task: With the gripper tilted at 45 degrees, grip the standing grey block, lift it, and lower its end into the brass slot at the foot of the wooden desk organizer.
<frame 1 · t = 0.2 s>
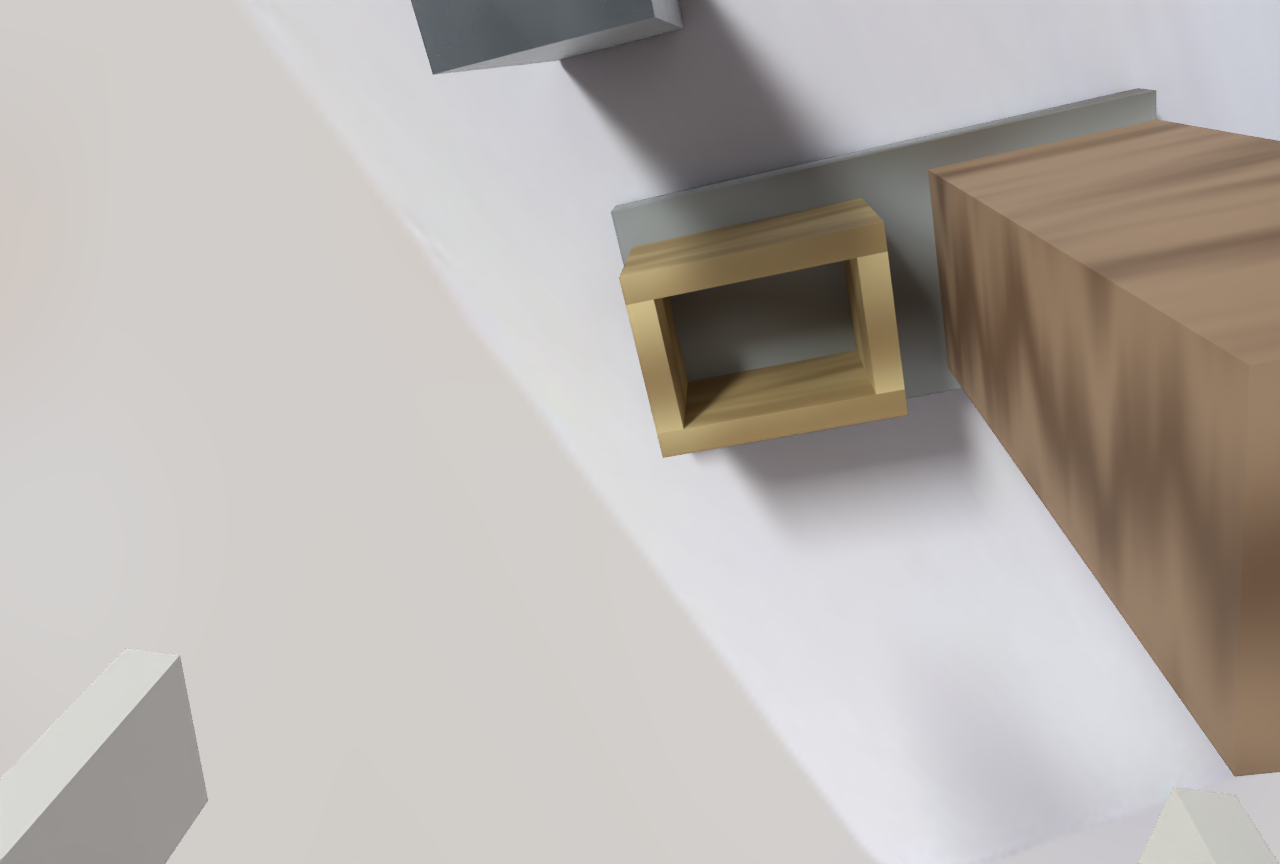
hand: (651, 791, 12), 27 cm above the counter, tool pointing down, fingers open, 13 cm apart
grey block: (609, 2, 33), on the counter
wooden desk organizer: (758, 298, 37), on the counter
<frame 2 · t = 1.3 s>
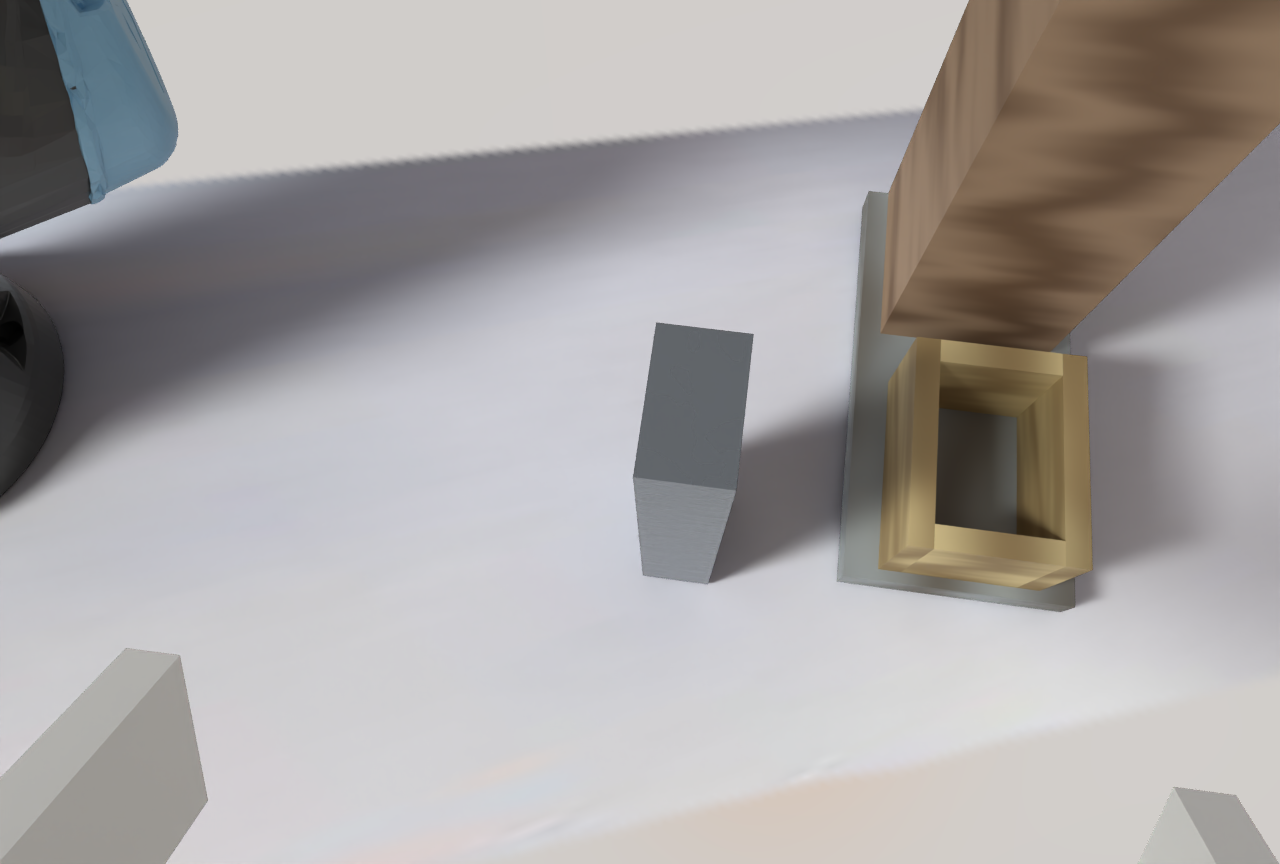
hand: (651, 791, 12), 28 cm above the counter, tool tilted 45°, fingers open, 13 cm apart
grey block: (682, 527, 41), on the counter
wooden desk organizer: (950, 490, 42), on the counter
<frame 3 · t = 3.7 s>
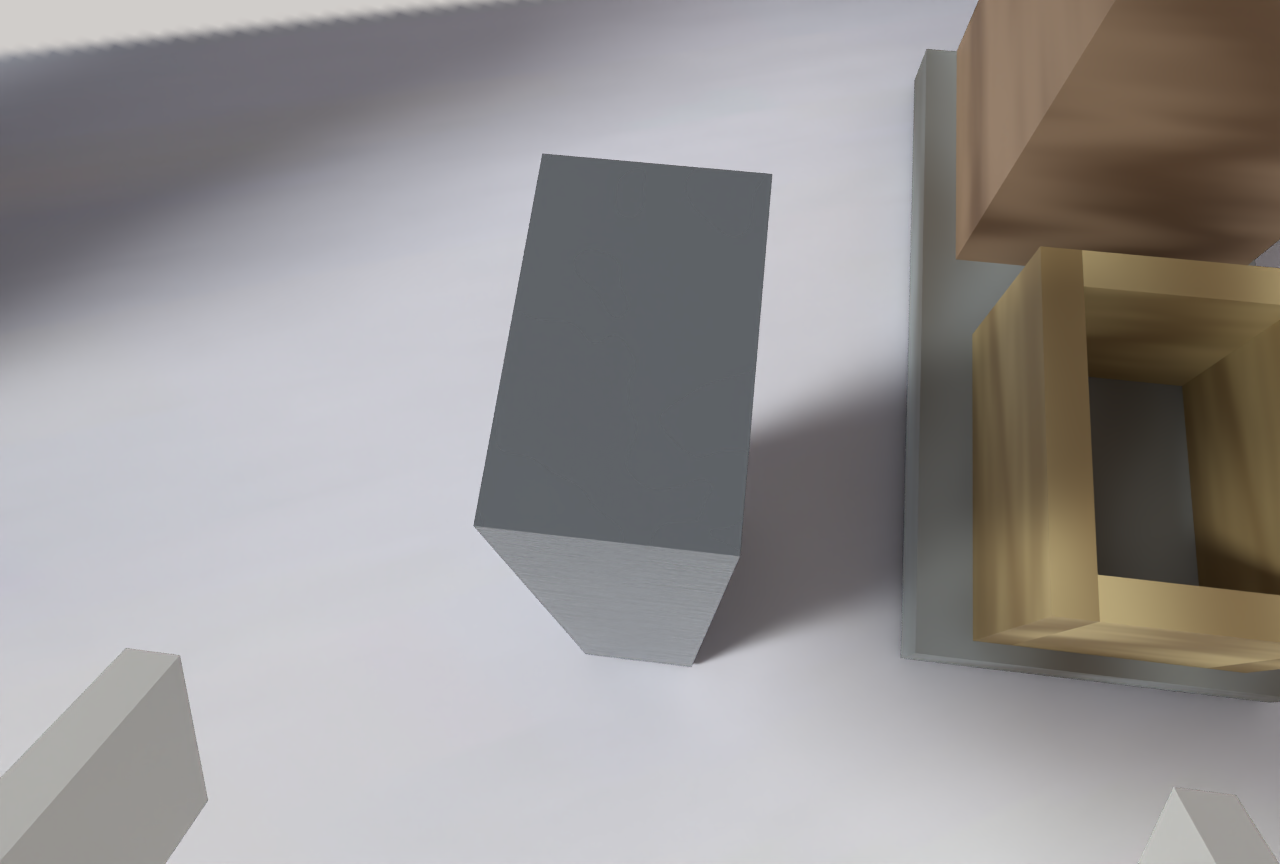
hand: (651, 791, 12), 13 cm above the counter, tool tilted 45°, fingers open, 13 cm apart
grey block: (648, 572, 26), on the counter
wooden desk organizer: (1075, 505, 26), on the counter
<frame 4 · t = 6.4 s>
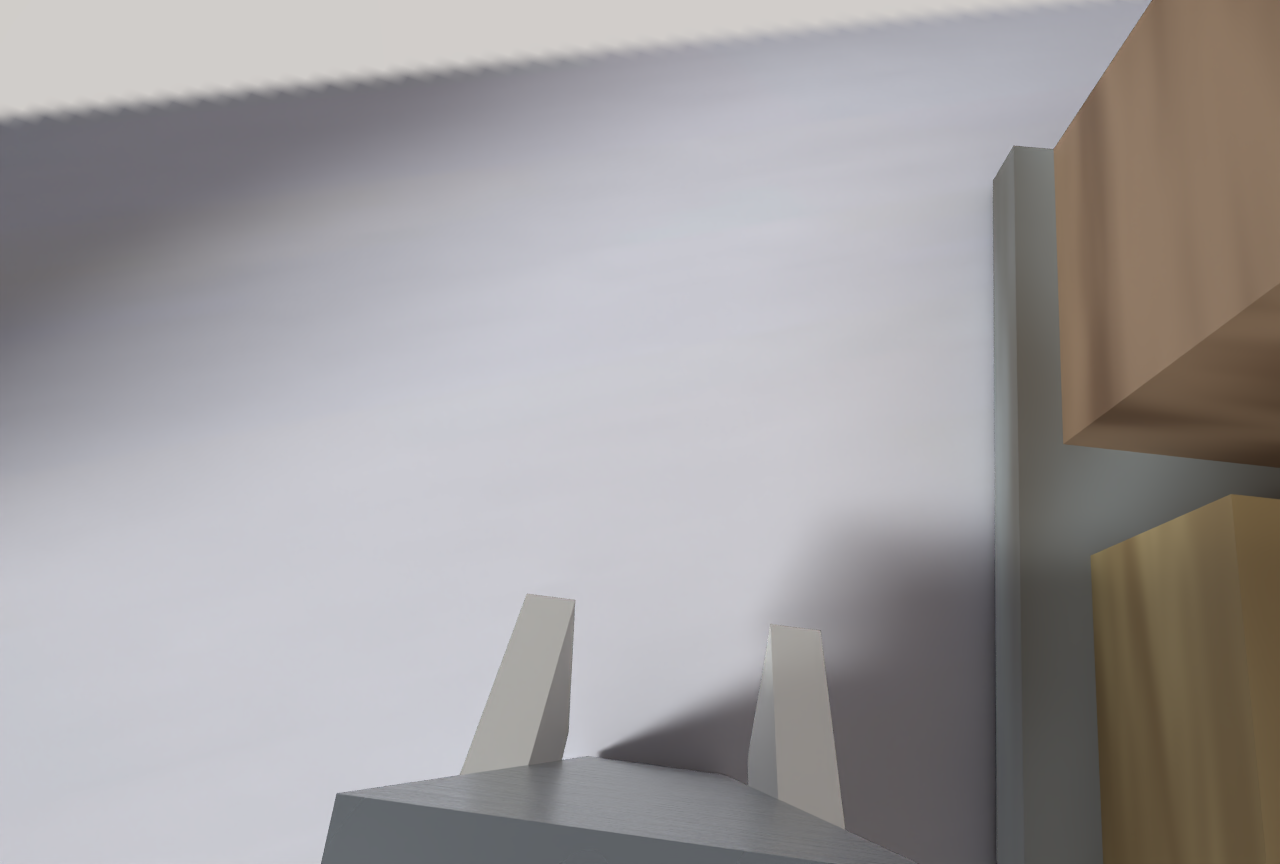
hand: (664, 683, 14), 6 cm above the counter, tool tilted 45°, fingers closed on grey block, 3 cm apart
wooden desk organizer: (1234, 797, 19), on the counter
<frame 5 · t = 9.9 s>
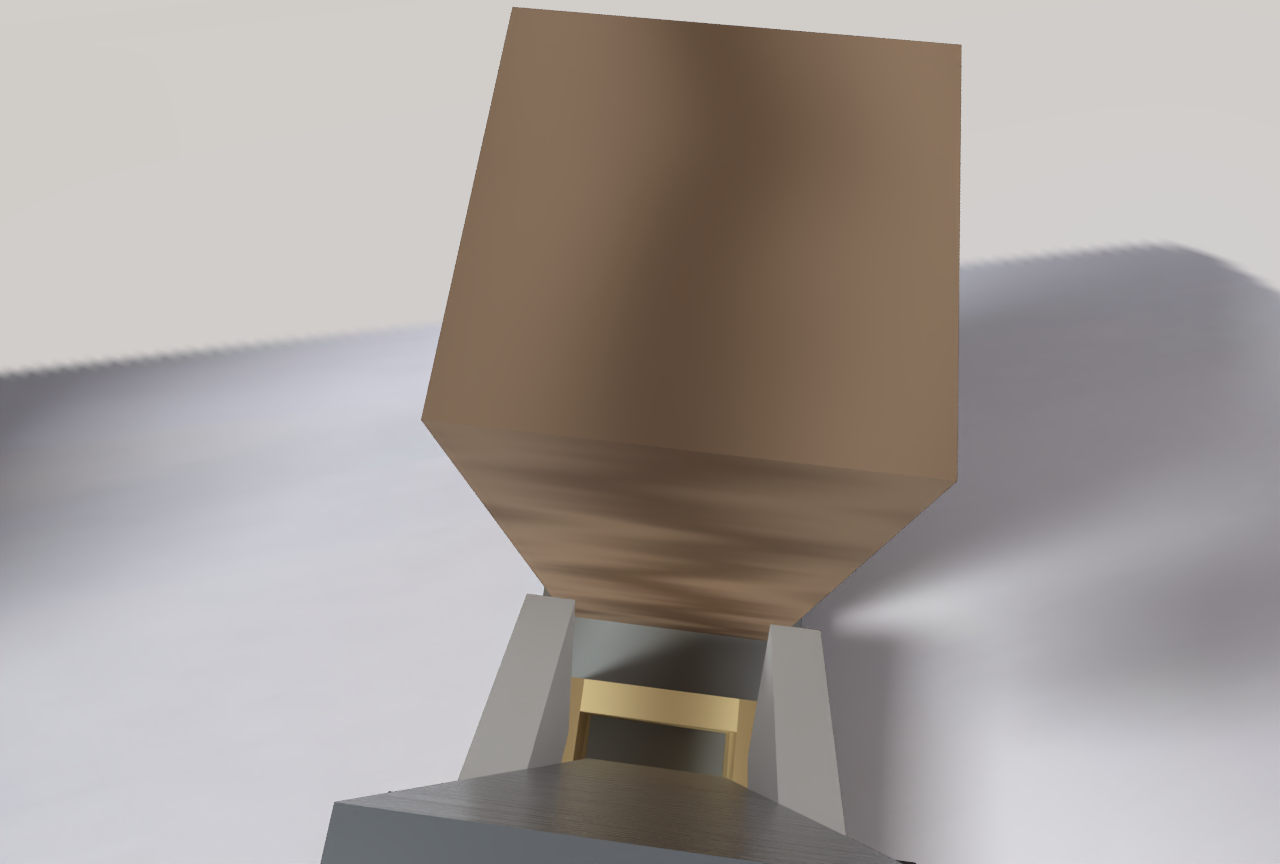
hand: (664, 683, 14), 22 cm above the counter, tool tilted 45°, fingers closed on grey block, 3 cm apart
wooden desk organizer: (646, 823, 33), on the counter
when the fingers open (9 cm above the counter, at t = 13.5 s): grey block drops 1 cm, resting on wooden desk organizer.
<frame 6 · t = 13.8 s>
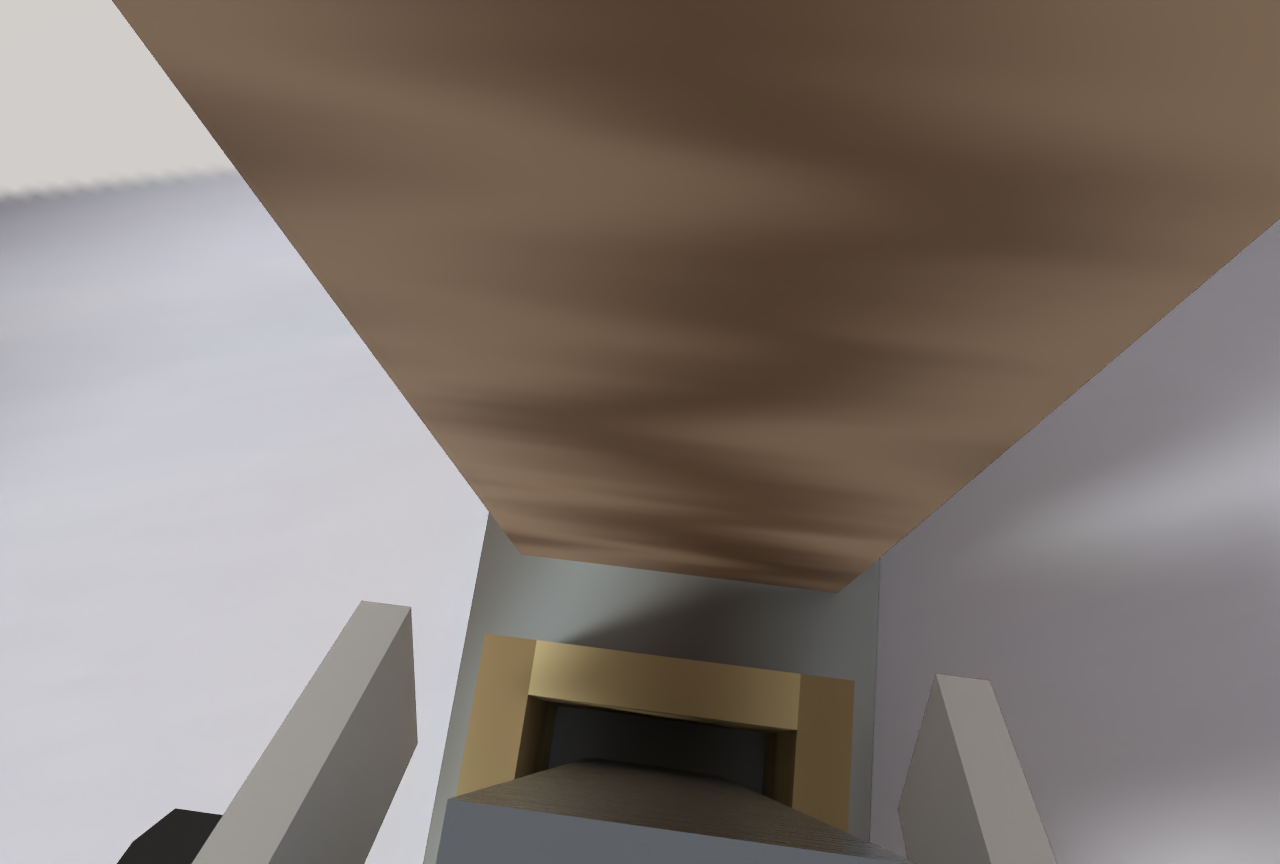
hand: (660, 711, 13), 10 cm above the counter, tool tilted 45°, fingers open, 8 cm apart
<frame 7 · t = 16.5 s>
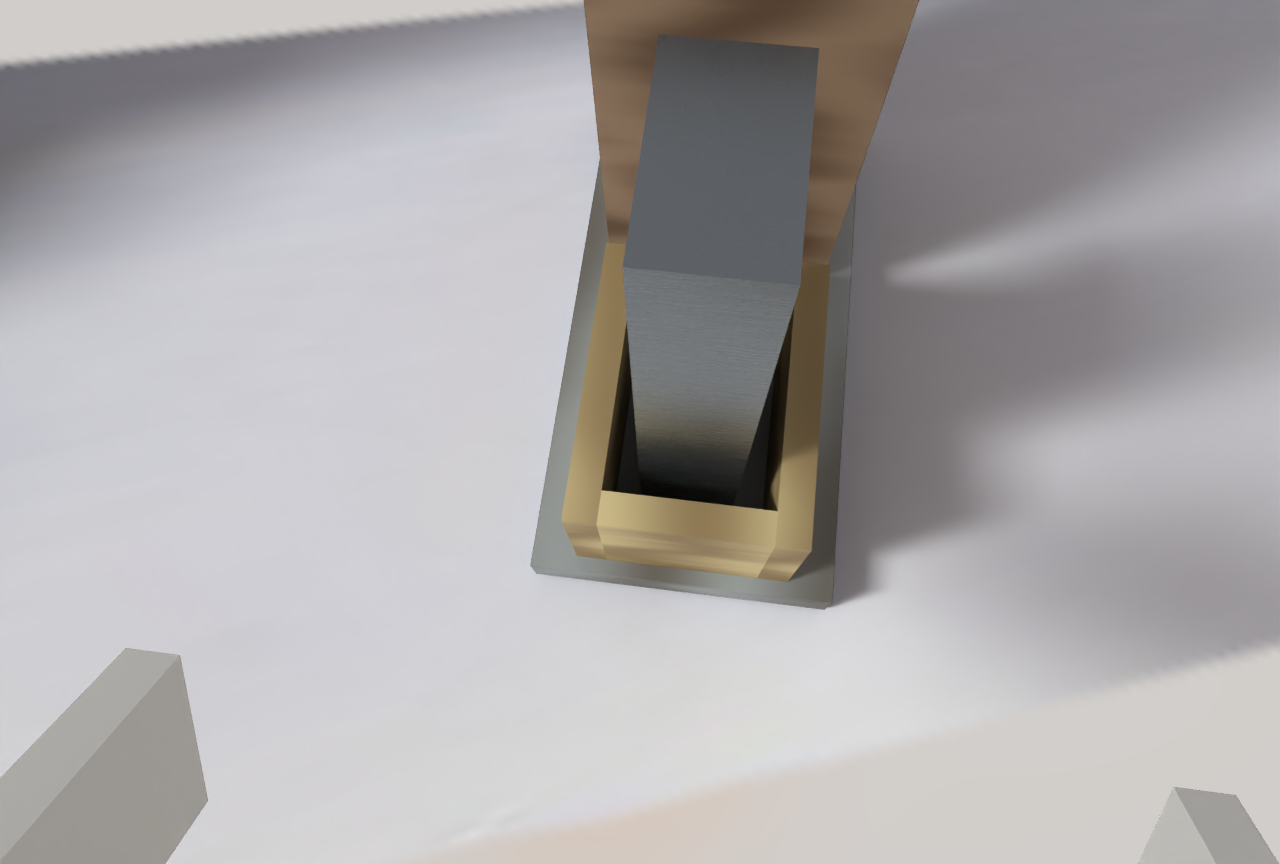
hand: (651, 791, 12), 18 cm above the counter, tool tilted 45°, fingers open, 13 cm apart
grey block: (693, 442, 31), point 1 cm above the counter, touching wooden desk organizer
wooden desk organizer: (694, 454, 32), on the counter
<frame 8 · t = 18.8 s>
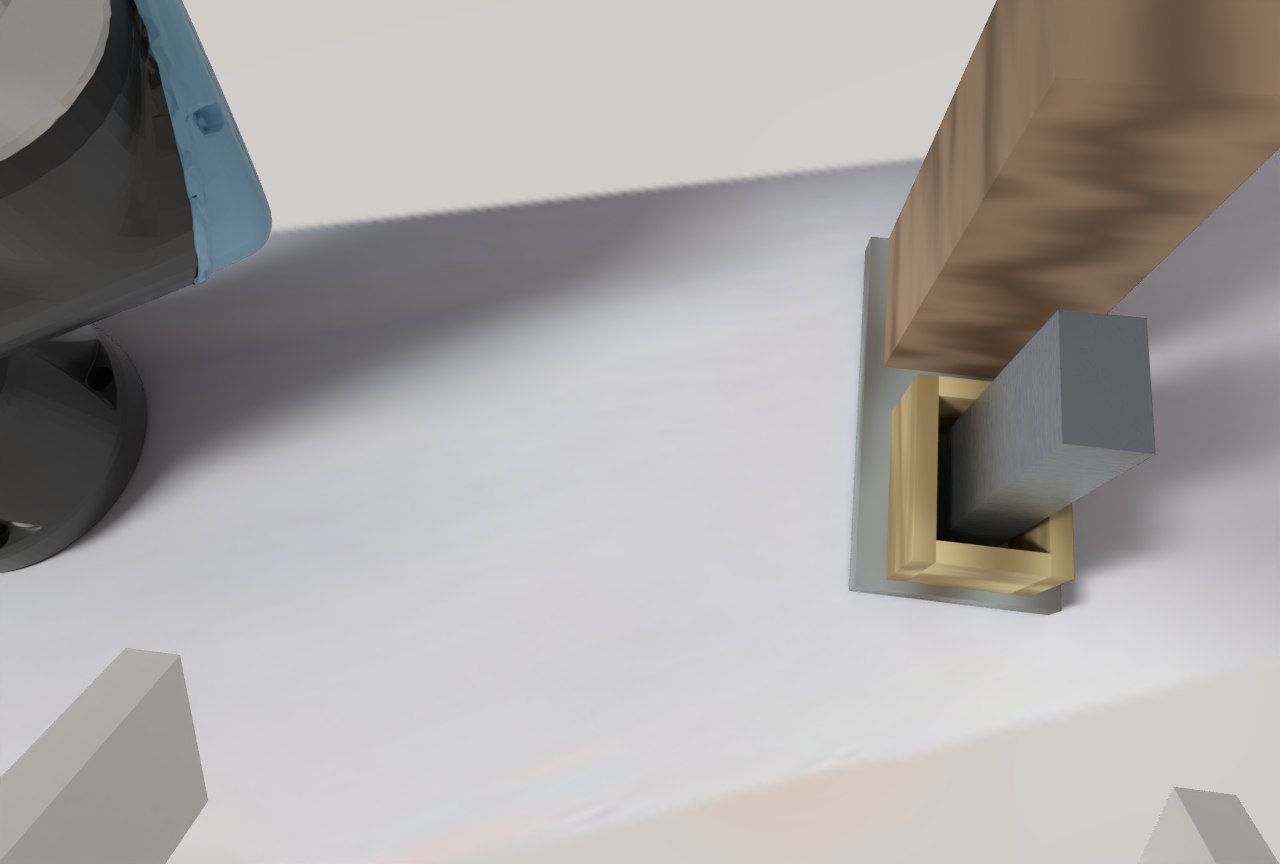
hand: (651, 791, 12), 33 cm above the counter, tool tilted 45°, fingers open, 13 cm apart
grey block: (956, 501, 45), point 1 cm above the counter, touching wooden desk organizer
wooden desk organizer: (949, 507, 47), on the counter
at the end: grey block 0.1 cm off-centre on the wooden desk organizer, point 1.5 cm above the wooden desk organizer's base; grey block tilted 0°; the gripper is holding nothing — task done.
